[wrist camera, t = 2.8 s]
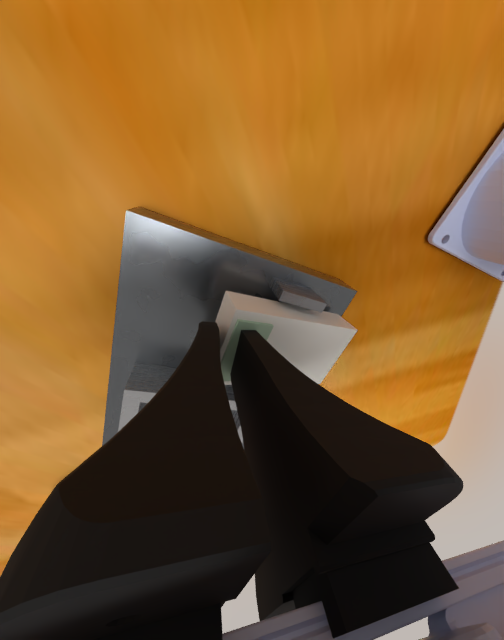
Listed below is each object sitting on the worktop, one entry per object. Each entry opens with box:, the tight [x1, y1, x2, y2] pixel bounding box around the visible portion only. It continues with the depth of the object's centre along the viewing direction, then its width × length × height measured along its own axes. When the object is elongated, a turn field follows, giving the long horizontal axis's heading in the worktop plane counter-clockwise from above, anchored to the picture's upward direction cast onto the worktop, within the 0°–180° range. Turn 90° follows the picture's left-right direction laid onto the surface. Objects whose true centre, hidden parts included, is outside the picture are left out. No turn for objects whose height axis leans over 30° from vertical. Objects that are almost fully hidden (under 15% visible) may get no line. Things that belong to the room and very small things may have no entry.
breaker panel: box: [102, 207, 357, 448], centre depth 14 cm, size 12×16×4 cm
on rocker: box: [215, 291, 357, 385], centre depth 11 cm, size 7×4×2 cm, turn 69°
